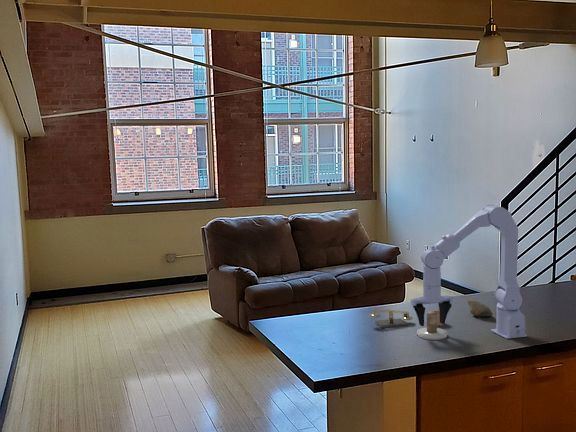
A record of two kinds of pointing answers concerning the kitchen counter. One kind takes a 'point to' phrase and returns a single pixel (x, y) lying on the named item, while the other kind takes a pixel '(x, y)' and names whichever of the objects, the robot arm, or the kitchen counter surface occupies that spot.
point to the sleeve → (438, 318)
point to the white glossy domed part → (432, 334)
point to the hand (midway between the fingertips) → (431, 324)
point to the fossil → (478, 309)
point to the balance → (391, 318)
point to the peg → (431, 322)
